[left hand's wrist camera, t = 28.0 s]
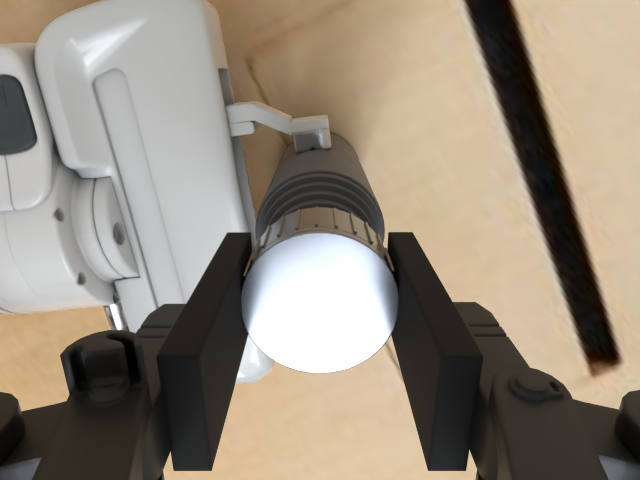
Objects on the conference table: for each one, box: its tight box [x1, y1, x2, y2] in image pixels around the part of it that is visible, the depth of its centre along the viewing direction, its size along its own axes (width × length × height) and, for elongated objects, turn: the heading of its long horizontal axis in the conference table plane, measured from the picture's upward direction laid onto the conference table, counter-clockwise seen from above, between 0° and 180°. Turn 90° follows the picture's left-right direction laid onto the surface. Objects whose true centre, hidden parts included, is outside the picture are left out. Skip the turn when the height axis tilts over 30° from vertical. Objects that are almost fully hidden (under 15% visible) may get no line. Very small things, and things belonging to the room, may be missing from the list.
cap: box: [241, 206, 399, 373], centre depth 13 cm, size 4×5×2 cm
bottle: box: [255, 132, 385, 244], centre depth 21 cm, size 5×5×17 cm
